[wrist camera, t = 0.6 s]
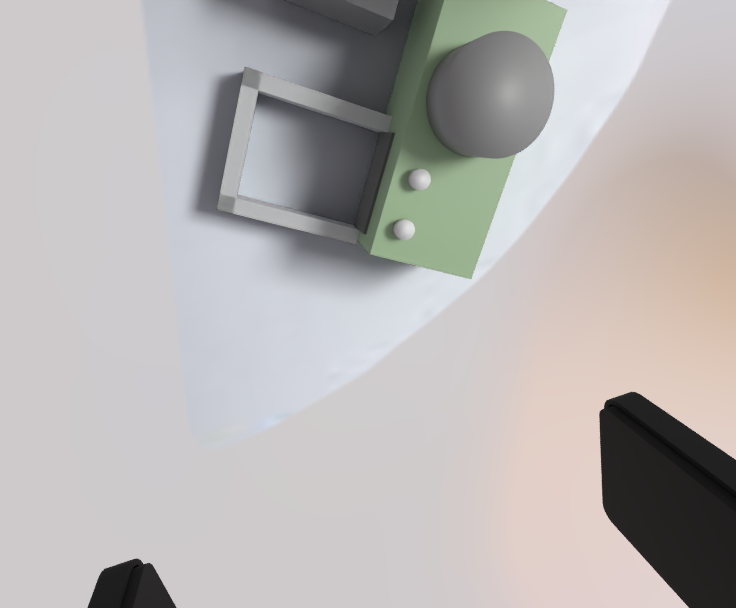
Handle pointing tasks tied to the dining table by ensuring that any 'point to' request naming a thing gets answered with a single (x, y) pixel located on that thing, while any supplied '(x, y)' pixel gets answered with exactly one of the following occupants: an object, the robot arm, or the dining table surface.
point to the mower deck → (429, 132)
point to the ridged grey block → (355, 12)
